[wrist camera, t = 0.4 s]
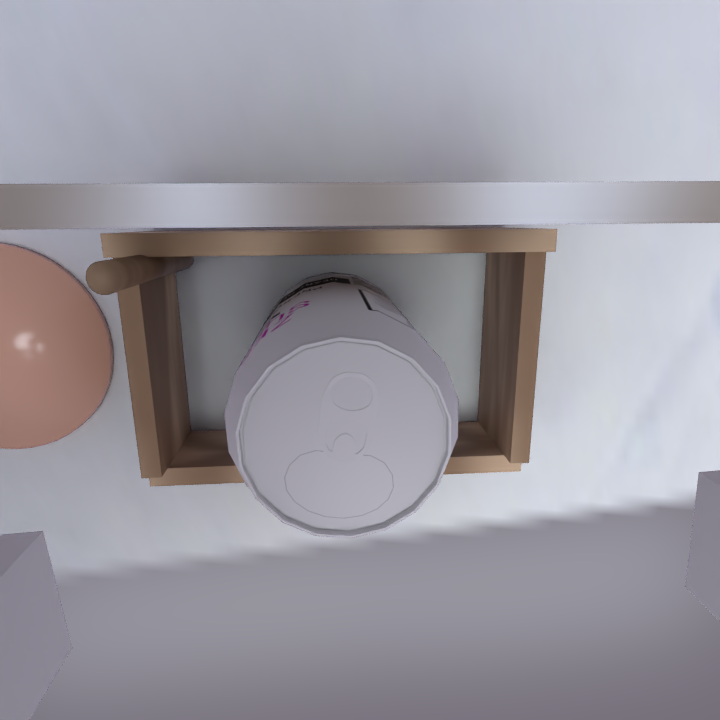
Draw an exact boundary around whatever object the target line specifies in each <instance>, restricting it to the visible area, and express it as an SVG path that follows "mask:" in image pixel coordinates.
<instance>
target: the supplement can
mask: <svg viewBox="0 0 720 720" xmlns="http://www.w3.org/2000/svg"><path fill="white" fill-rule="evenodd" d="M224 416H225V425H226V434H227V442H228V451H229V454H230V455H231V457H232V459H233V461H234V463H235V465H236V467H237V469H238V471H239V472H240V474H241V476H242V478H243V480H244V482H245V484H246V486H247V487H249V488H250V489H251V491H252V493H253V495H254V496H255V498H256V499H257V500H258V501H259V502H260V503H261V504H262V505H263V506H264V507H266V508H267V509H268V510H269V511H270V512H271V513H272V514H273V515H275V516H276V517H277V518H278V519H279V520H280V521H281V522H283V523H286V524H288V525H290V526H293V527H295V528H298V529H300V530H302V531H305V532H307V533H310V534H312V535H314V536H326V537H339V538H354V537H359V536H363V535H367V534H371V533H376V532H380V531H384V530H387V529H388V528H390V527H392V526H393V525H395V524H397V523H398V522H400V521H402V520H403V519H405V518H407V517H408V516H410V515H412V514H413V513H415V512H416V511H417V510H418V509H419V508H420V507H421V505H422V504H423V503H424V502H425V501H426V500H427V499H428V497H429V496H430V495H431V494H432V493H433V492H434V490H435V489H436V488H437V487H438V486H439V483H440V481H441V478H442V476H443V473H444V471H445V469H446V466H447V464H448V461H449V458H450V456H451V453H452V451H453V448H454V446H455V443H456V440H457V438H458V397H457V394H456V392H455V389H454V386H453V384H452V381H451V378H450V376H449V373H448V371H447V368H446V365H445V363H444V362H443V360H442V359H441V358H440V357H439V356H438V355H437V354H436V352H435V351H434V350H433V349H432V348H431V347H430V345H429V344H428V343H427V342H426V341H425V340H424V339H423V337H422V336H421V335H420V334H419V333H418V332H417V331H416V329H415V328H414V327H413V326H412V325H411V324H410V322H409V321H408V320H407V319H406V318H405V317H404V316H403V314H402V313H401V312H400V311H399V310H398V309H397V308H396V306H395V305H394V304H393V303H392V302H391V301H390V300H389V299H388V297H387V296H386V295H385V294H384V293H383V292H382V291H381V290H380V289H379V287H377V286H375V285H373V284H371V283H369V282H367V281H365V280H363V279H361V278H359V277H358V276H353V275H345V274H338V273H328V274H323V275H319V276H315V277H310V278H306V279H305V280H303V281H302V282H300V283H299V284H297V285H296V286H294V287H293V288H291V289H290V290H288V291H287V292H285V294H284V295H283V296H282V298H281V299H280V301H279V302H278V303H277V305H276V306H275V307H274V309H273V310H272V311H271V313H270V315H269V316H268V318H267V320H266V322H265V323H264V325H263V327H262V329H261V330H260V332H259V334H258V335H257V337H256V339H255V341H254V342H253V344H252V346H251V347H250V349H249V351H248V353H247V354H246V356H245V358H244V360H243V361H242V363H241V365H240V366H239V368H238V370H237V372H236V373H235V375H234V379H233V383H232V386H231V390H230V394H229V397H228V401H227V405H226V408H225V412H224Z"/></svg>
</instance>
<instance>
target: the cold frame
mask: <svg viewBox="0 0 720 720" xmlns="http://www.w3.org/2000/svg"><path fill="white" fill-rule="evenodd" d="M631 223H720V181H655V182H408V183H161V184H0V229H104V228H210V227H315V226H420V225H526V224H631ZM556 240H557V229H537V228H415V229H313V230H212V231H144V232H124V233H104V234H101V241H102V249H103V256H104V258H108V257H113V259H111V260H105V261H99V262H95V263H93V264H91V265H90V266H89V268H88V269H87V271H86V281H87V284H88V286H89V287H90V288H91V289H92V290H93V291H94V292H96V293H98V294H101V295H109V294H112V293H115V292H117V293H118V300H119V308H120V316H121V324H122V331H123V339H124V347H125V354H126V362H127V370H128V378H129V385H130V393H131V401H132V409H133V416H134V424H135V432H136V439H137V447H138V455H139V463H140V470H141V478H149V481H150V486H171V485H196V484H220V483H244V480H243V478H242V476H241V474H240V472H239V471H238V469H237V467H236V465H235V463H234V461H233V459H232V457H231V455H230V454H229V451H228V442H227V434H226V430H212V431H191V426H190V416H189V406H188V396H187V386H186V376H185V366H184V356H183V346H182V336H181V326H180V316H179V306H178V296H177V286H176V276H175V272H178V271H180V270H183V269H186V268H189V267H190V266H191V265H192V264H193V260H194V258H193V256H262V255H339V254H416V253H487V254H486V272H485V291H484V310H483V329H482V347H481V366H480V385H479V404H478V421H473V422H458V438H457V440H456V443H455V446H454V448H453V451H452V453H451V456H450V458H449V461H448V464H447V466H446V469H445V471H444V473H443V474H464V473H488V472H512V471H521V463H529V455H530V443H531V431H532V418H533V406H534V394H535V382H536V370H537V358H538V346H539V333H540V321H541V309H542V297H543V285H544V273H545V261H546V252H555V251H556Z"/></svg>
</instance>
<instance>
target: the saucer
mask: <svg viewBox="0 0 720 720" xmlns="http://www.w3.org/2000/svg"><path fill="white" fill-rule="evenodd" d="M112 372H113V346H112V341H111V336H110V332H109V329H108V326H107V323H106V320H105V318H104V316H103V314H102V312H101V310H100V308H99V306H98V305H97V303H96V302H95V300H94V299H93V297H92V296H91V294H90V293H89V292H88V291H87V290H86V288H85V287H84V286H83V285H82V284H81V283H80V282H79V281H78V280H77V279H76V278H75V277H74V276H73V275H72V274H71V273H69V272H68V271H67V270H65V269H64V268H63V267H61V266H60V265H59V264H57V263H55V262H54V261H52V260H50V259H48V258H47V257H45V256H43V255H40V254H38V253H36V252H34V251H31V250H28V249H25V248H22V247H18V246H15V245H9V244H4V243H0V448H4V449H22V448H32V447H37V446H41V445H45V444H48V443H51V442H54V441H57V440H59V439H61V438H63V437H65V436H66V435H68V434H70V433H71V432H73V431H74V430H76V429H77V428H78V427H80V426H81V425H82V424H83V423H84V422H85V421H86V420H87V419H88V418H90V417H91V416H92V414H93V413H94V412H95V411H96V409H97V408H98V407H99V406H100V404H101V402H102V400H103V399H104V397H105V395H106V392H107V390H108V387H109V385H110V381H111V376H112Z"/></svg>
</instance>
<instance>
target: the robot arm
mask: <svg viewBox="0 0 720 720" xmlns="http://www.w3.org/2000/svg"><path fill="white" fill-rule="evenodd" d="M685 587H686V588H687V589H688V590H689V591H690V592H691V593H692V594H693V595H694V596H695V597H696V598H697V599H698V600H699V601H700V602H701V603H702V604H703V605H704V606H705V607H706V608H707V609H708V610H709V611H710V612H711V613H712V614H713V615H714V616H715V617H716V618H717V619H718V620H719V621H720V470H719V471H708V472H699V475H698V484H697V492H696V500H695V509H694V517H693V525H692V534H691V542H690V551H689V559H688V567H687V575H686V585H685ZM71 649H72V645H71V641H70V637H69V633H68V629H67V625H66V621H65V617H64V613H63V609H62V605H61V601H60V597H59V594H58V590H57V585H56V581H55V577H54V573H53V569H52V565H51V561H50V558H49V554H48V550H47V546H46V542H45V538H44V534H43V531H38V532H27V533H15V534H4V535H1V536H0V720H30V718H31V716H32V715H33V713H34V711H35V710H36V708H37V706H38V705H39V703H40V701H41V700H42V698H43V696H44V695H45V693H46V691H47V690H48V688H49V686H50V684H51V683H52V681H53V680H54V678H55V676H56V674H57V673H58V671H59V669H60V668H61V666H62V664H63V663H64V661H65V659H66V658H67V655H68V654H69V652H70V651H71Z"/></svg>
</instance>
